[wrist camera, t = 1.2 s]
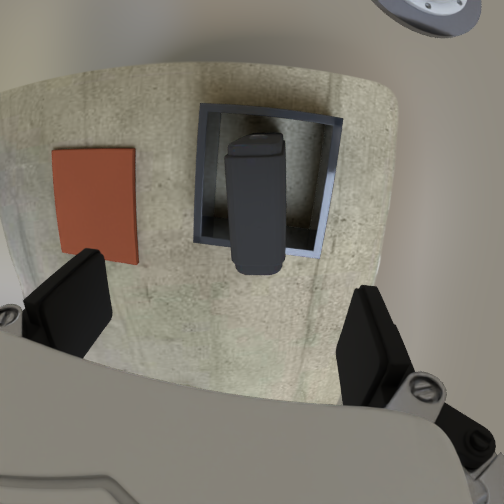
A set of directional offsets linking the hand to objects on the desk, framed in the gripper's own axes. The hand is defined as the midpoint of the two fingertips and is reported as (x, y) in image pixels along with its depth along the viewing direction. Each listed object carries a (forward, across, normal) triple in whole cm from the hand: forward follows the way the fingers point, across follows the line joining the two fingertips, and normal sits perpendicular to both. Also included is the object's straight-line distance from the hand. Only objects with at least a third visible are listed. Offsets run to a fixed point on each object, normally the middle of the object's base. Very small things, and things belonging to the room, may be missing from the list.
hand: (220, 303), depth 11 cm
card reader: (+25, 0, 0) cm, 25 cm away
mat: (+25, +22, +6) cm, 34 cm away
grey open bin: (+25, 0, 0) cm, 25 cm away
